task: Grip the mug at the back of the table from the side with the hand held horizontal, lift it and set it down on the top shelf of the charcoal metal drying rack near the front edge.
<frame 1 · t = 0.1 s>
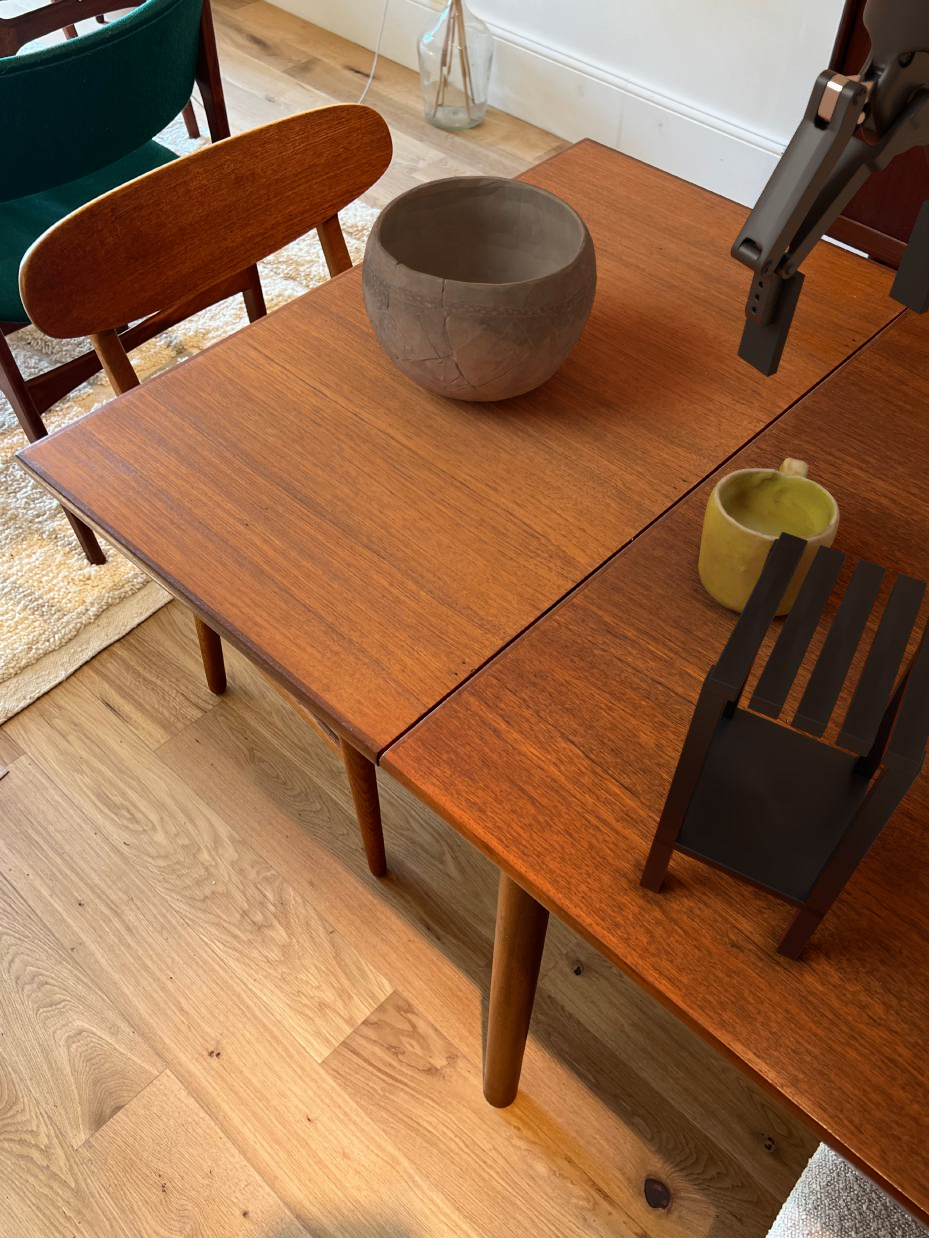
hand: (834, 333, 64), 21 cm above the table, tool pointing down, fingers open, 13 cm apart
bowl: (476, 372, 96), on the table
mug: (758, 569, 79), on the table
rack: (743, 851, 62), on the table
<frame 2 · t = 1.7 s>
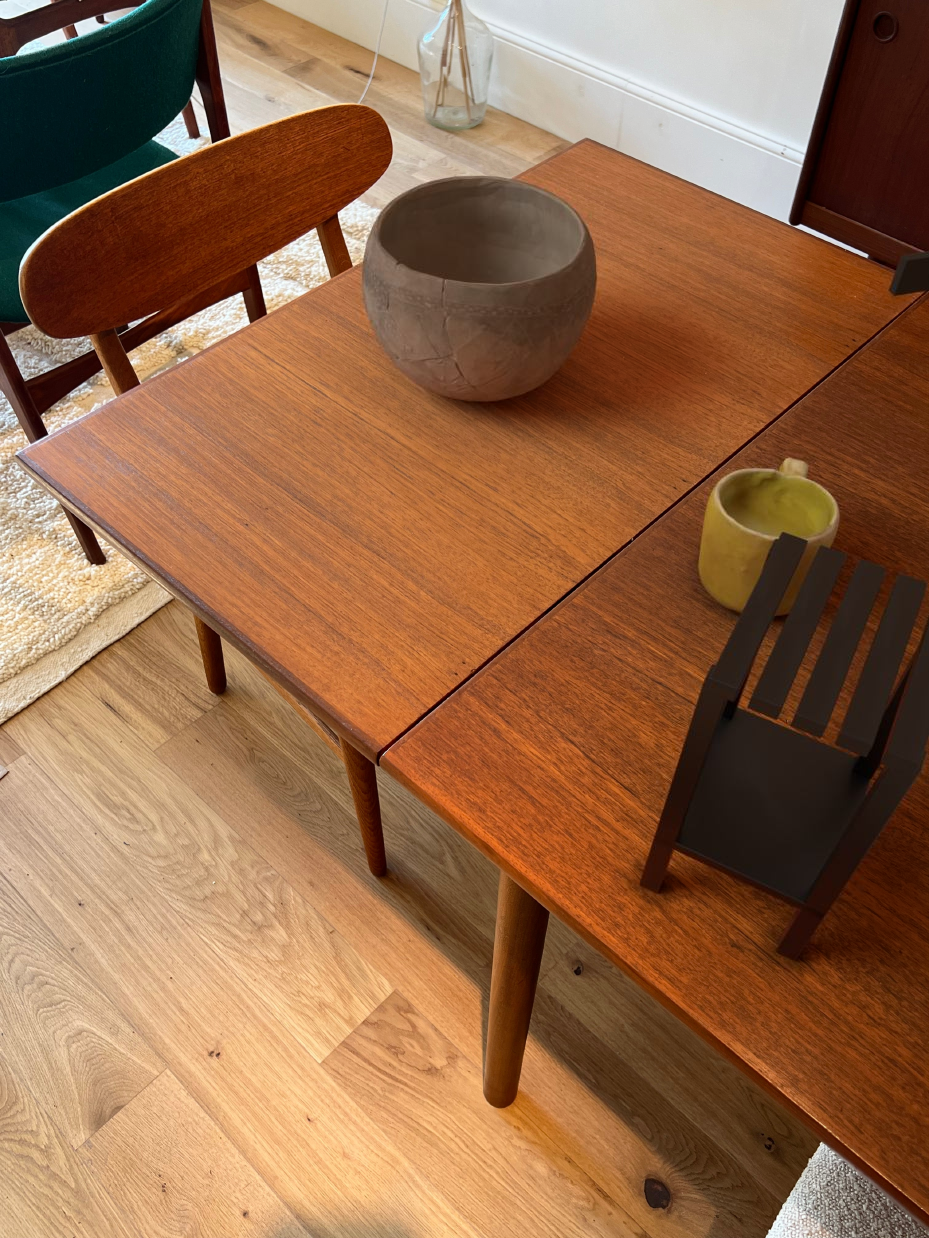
nothing on the table moved.
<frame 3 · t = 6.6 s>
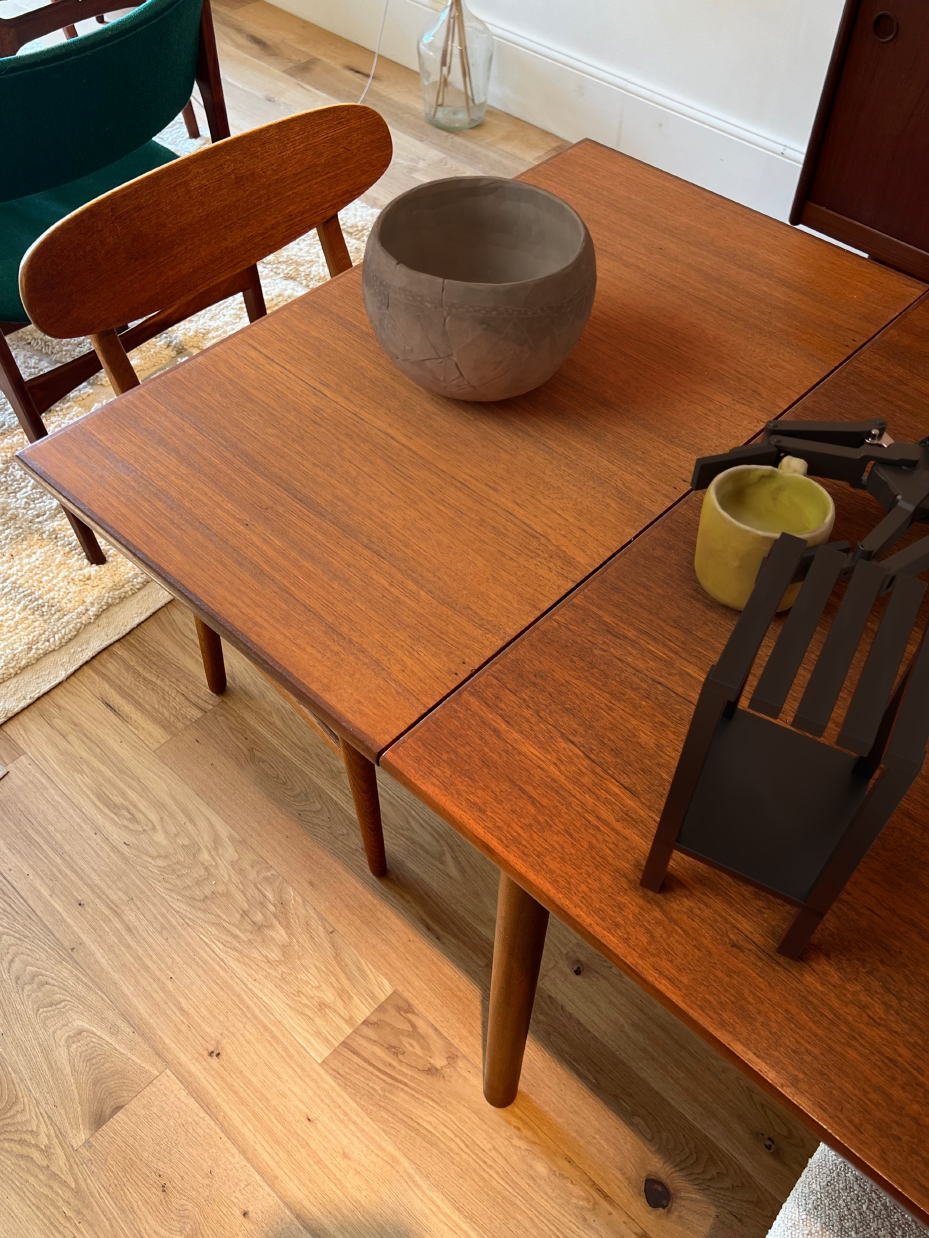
hand: (726, 522, 74), 6 cm above the table, tool horizontal, fingers closed on mug, 10 cm apart
mug: (754, 566, 79), on the table, touching gripper
everything else where it was.
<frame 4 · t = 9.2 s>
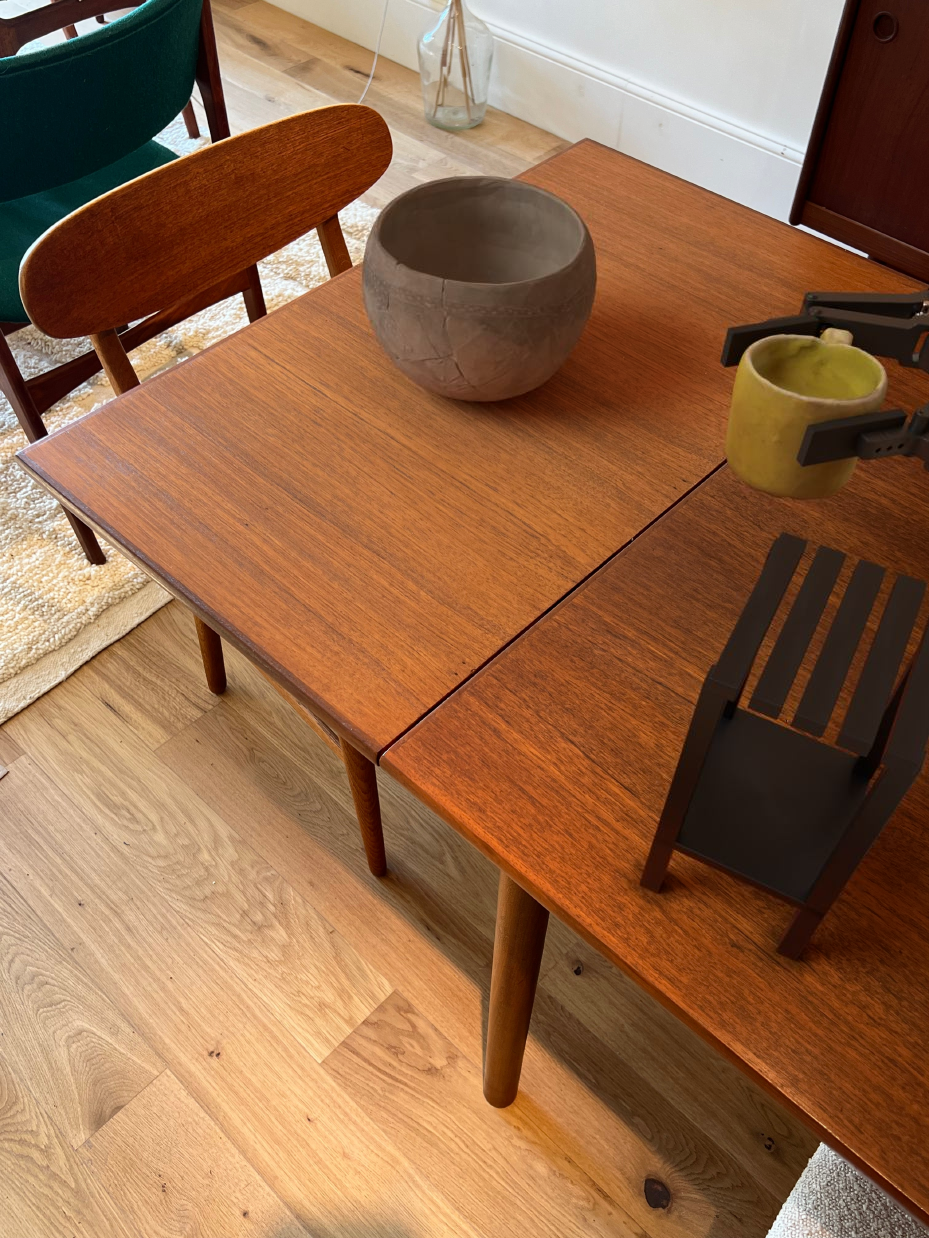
hand: (763, 394, 65), 17 cm above the table, tool horizontal, fingers closed on mug, 10 cm apart
mug: (792, 454, 71), point 11 cm above the table, touching gripper
everything else where it was.
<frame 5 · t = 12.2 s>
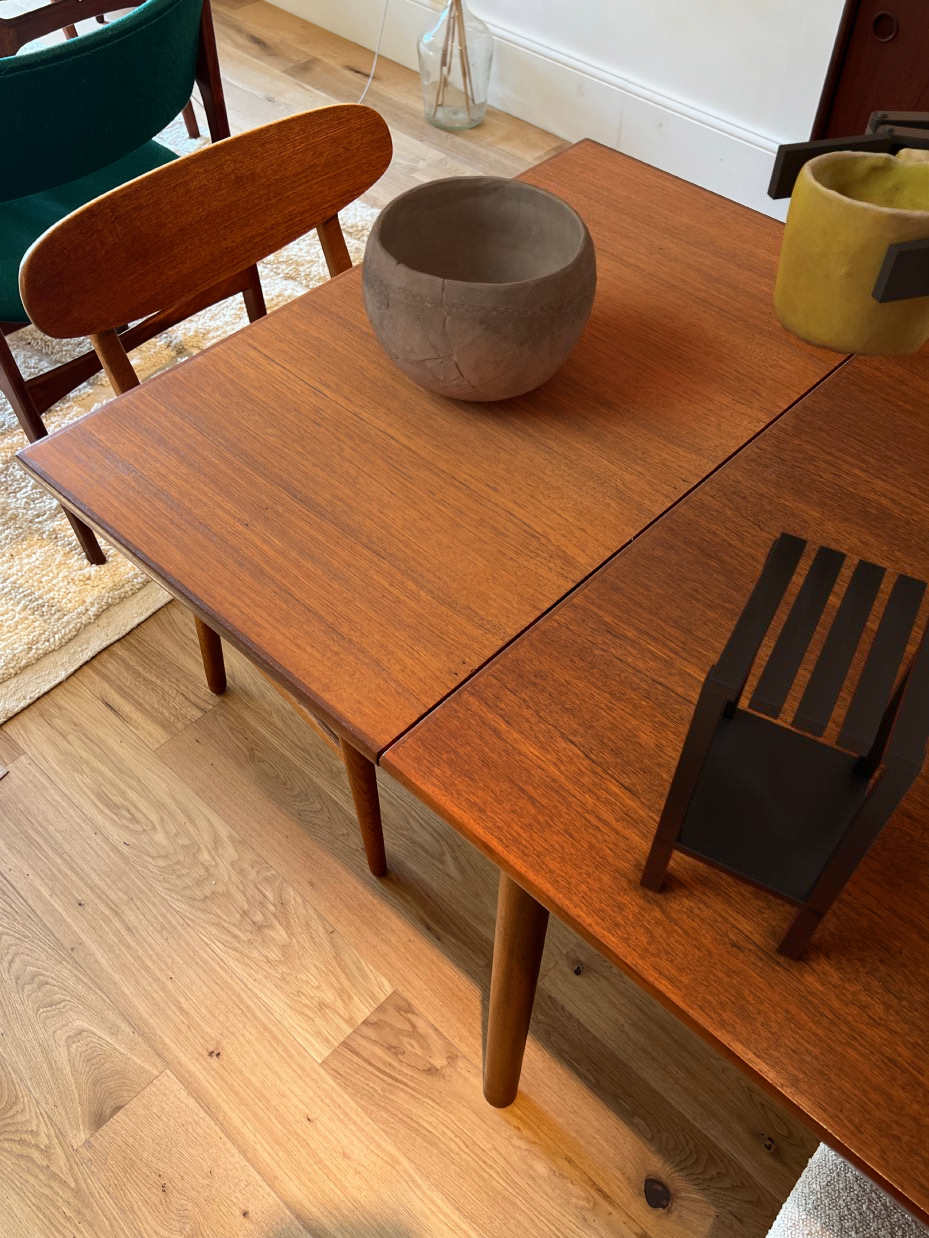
hand: (826, 220, 51), 32 cm above the table, tool horizontal, fingers closed on mug, 10 cm apart
mug: (856, 312, 57), point 25 cm above the table, touching gripper
everything else where it was.
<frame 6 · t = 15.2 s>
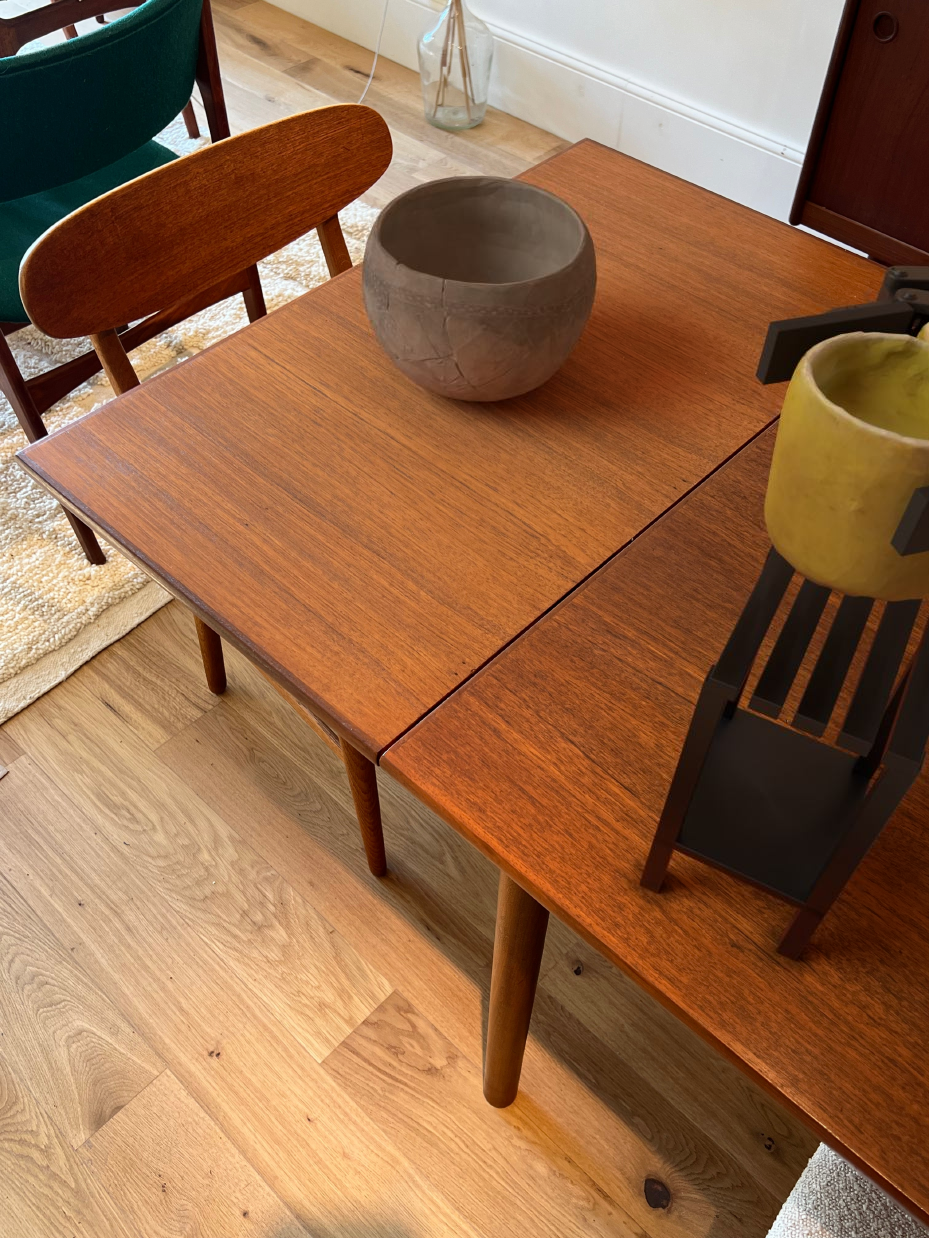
hand: (831, 431, 39), 32 cm above the table, tool horizontal, fingers closed on mug, 10 cm apart
mug: (868, 520, 45), point 26 cm above the table, touching gripper
everything else where it was.
when the fingers open (27 cm above the table, at t = 17.7 s): mug stays where it is, resting on rack.
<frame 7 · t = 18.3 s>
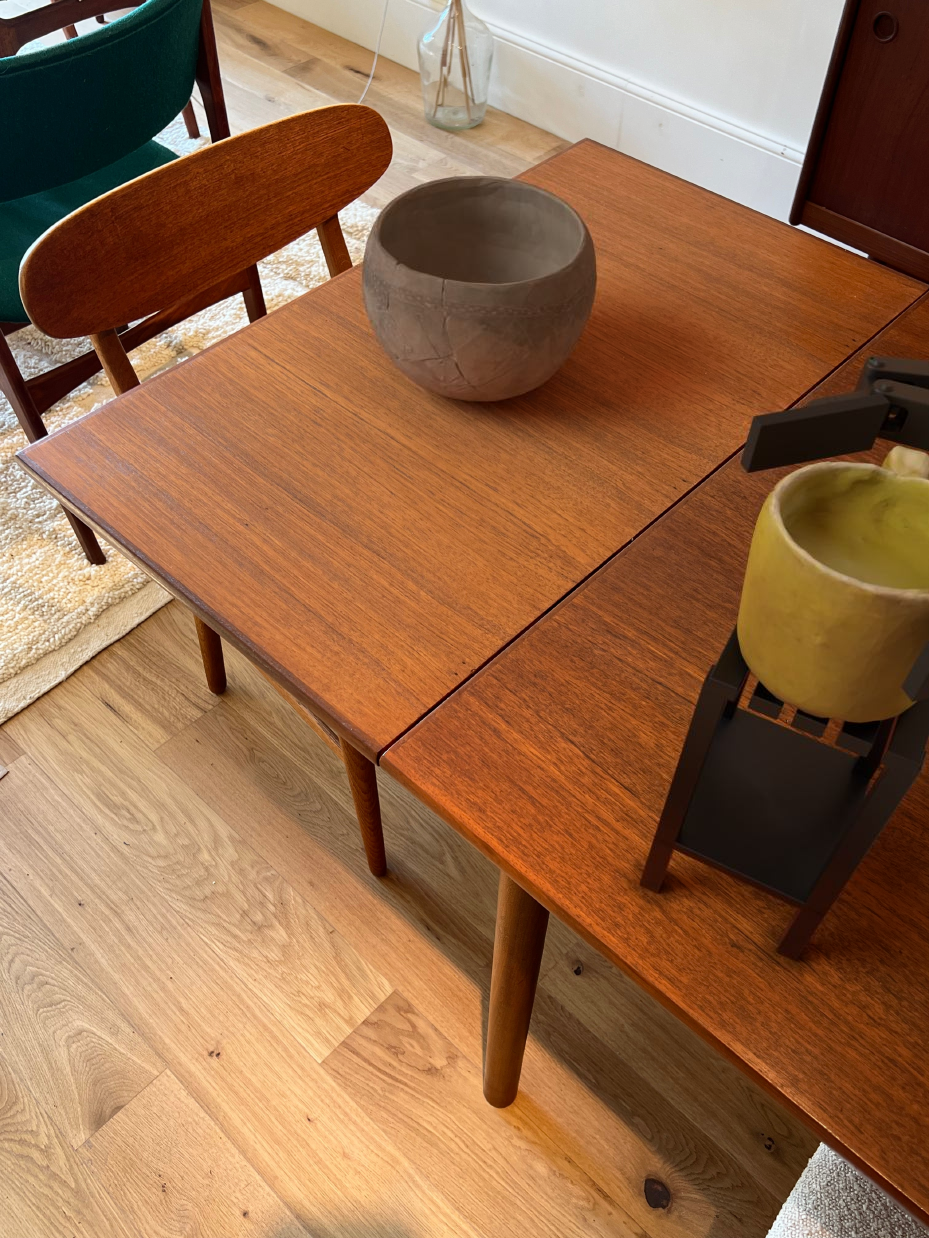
hand: (824, 547, 41), 28 cm above the table, tool horizontal, fingers open, 13 cm apart
mug: (837, 632, 47), point 21 cm above the table, touching rack
everything else where it was.
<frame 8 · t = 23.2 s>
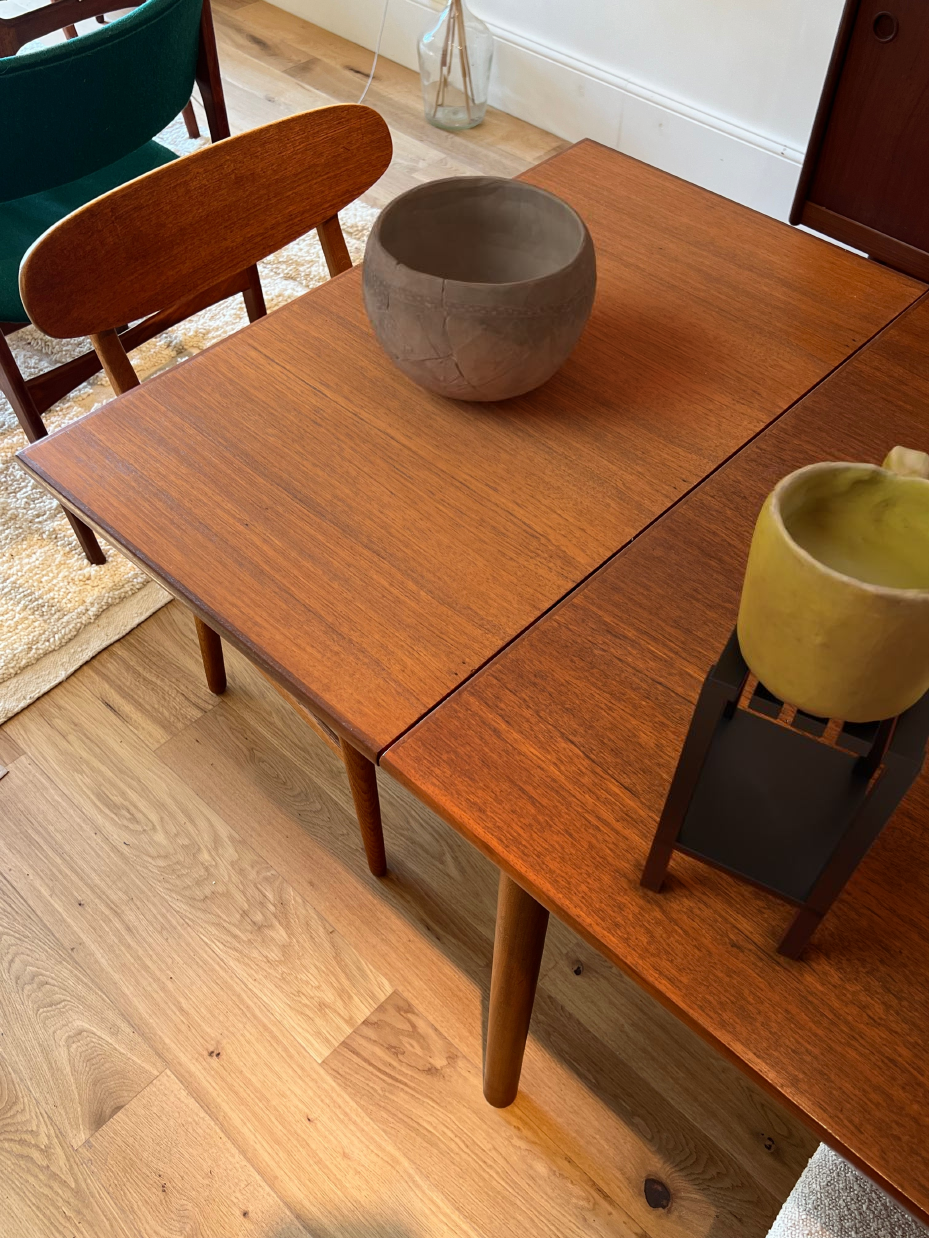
nothing on the table moved.
at the end: mug inside the target area on the rack (0.4 cm from its centre), point 20.8 cm above the rack's base; mug tilted 1°; the gripper is holding nothing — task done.
